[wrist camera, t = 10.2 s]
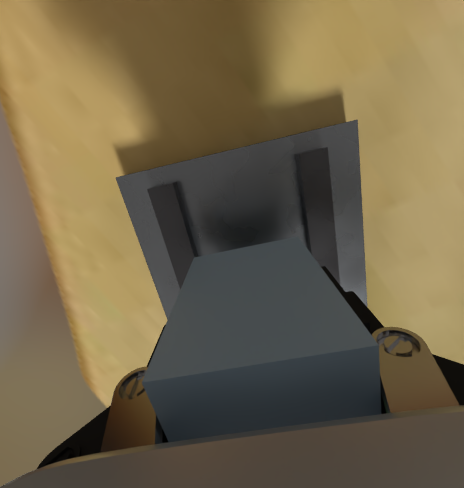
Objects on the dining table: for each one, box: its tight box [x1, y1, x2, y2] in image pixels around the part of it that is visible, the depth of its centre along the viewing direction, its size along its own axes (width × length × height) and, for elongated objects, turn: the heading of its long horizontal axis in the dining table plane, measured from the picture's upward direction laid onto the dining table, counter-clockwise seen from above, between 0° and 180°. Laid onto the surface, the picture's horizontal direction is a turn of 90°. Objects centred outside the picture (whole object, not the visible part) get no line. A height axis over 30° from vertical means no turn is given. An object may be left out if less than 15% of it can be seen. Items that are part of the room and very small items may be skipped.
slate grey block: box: [142, 237, 381, 442], centre depth 10 cm, size 5×7×7 cm
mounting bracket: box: [116, 120, 367, 319], centre depth 17 cm, size 14×14×2 cm
